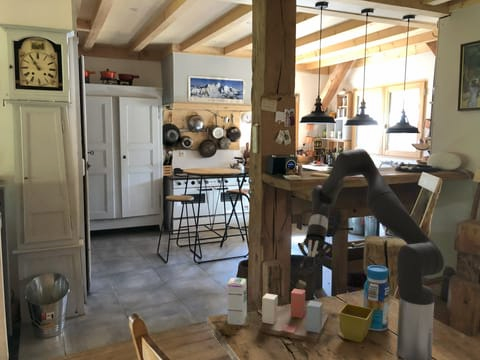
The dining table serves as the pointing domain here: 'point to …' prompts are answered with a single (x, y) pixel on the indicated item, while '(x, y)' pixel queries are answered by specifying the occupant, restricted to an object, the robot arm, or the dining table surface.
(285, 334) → the brown wooden board
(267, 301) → the cream rectangular block
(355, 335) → the flower pot
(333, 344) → the dining table surface
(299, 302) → the red rectangular block
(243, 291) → the syrup box
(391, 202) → the robot arm
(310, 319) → the grey rectangular block
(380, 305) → the beverage bottle
